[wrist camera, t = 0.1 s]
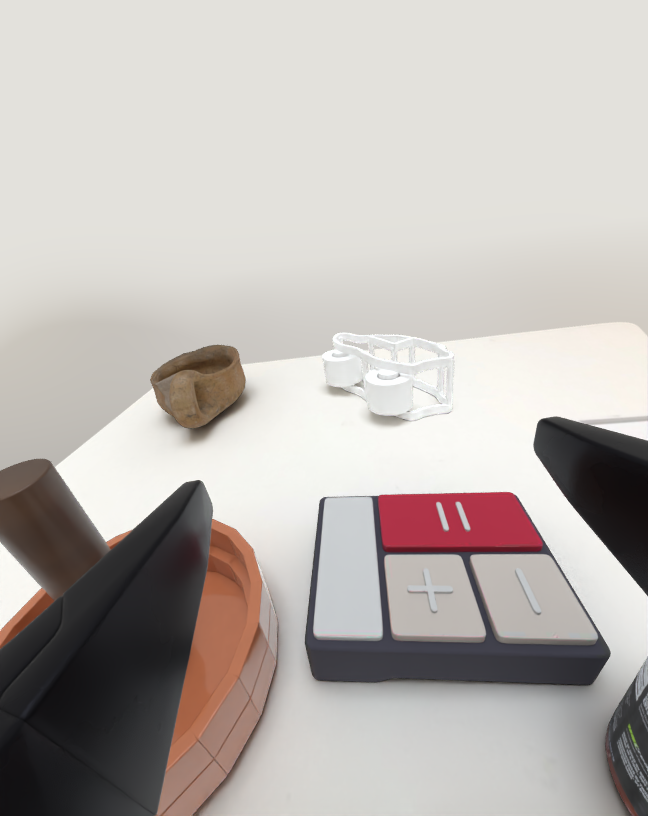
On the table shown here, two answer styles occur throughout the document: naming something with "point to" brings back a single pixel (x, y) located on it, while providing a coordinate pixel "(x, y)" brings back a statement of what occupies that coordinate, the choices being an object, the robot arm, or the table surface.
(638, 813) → the supplement bottle
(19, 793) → the robot arm
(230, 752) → the mixing bowl
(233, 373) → the tan clay cup
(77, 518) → the pestle
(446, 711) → the table surface
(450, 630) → the calculator
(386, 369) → the wheeled car silhouette
